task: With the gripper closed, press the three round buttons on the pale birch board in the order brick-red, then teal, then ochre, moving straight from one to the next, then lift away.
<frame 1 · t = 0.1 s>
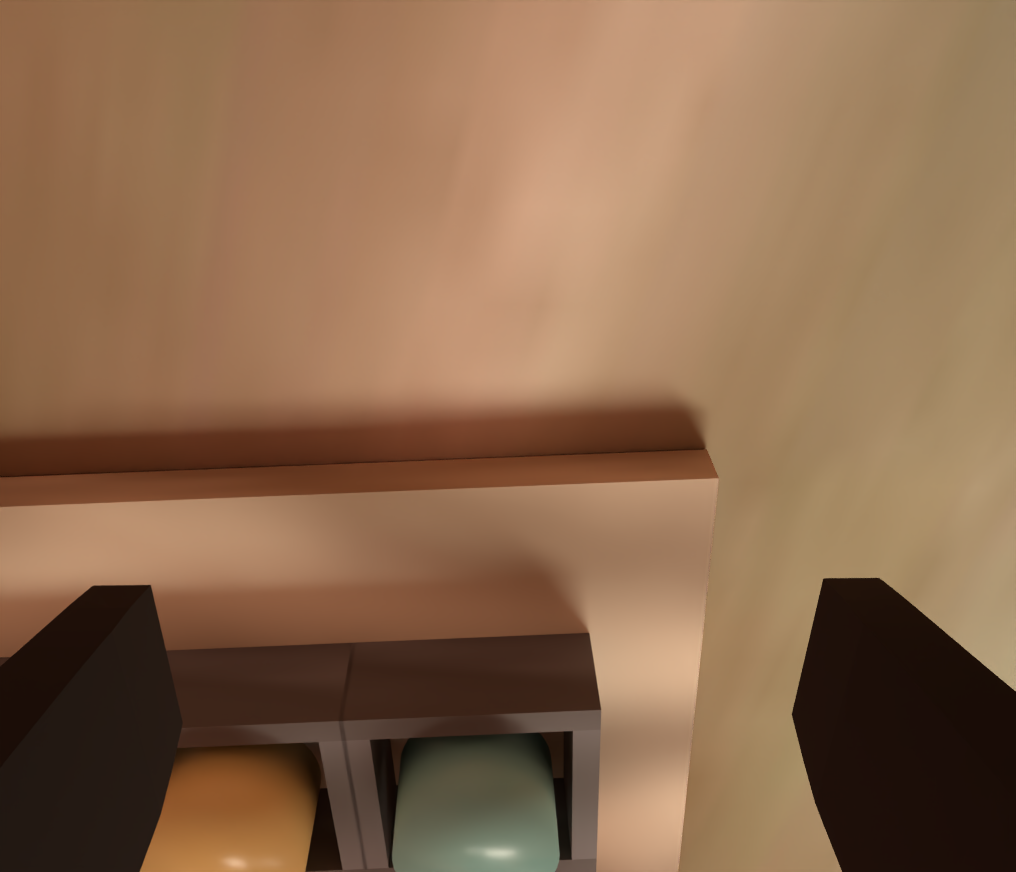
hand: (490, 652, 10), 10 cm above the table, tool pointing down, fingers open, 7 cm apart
ochre button: (232, 819, 21), point 4 cm above the table, slide at 0.0 cm
teal button: (476, 808, 21), point 4 cm above the table, slide at 0.0 cm
button board: (304, 694, 24), on the table
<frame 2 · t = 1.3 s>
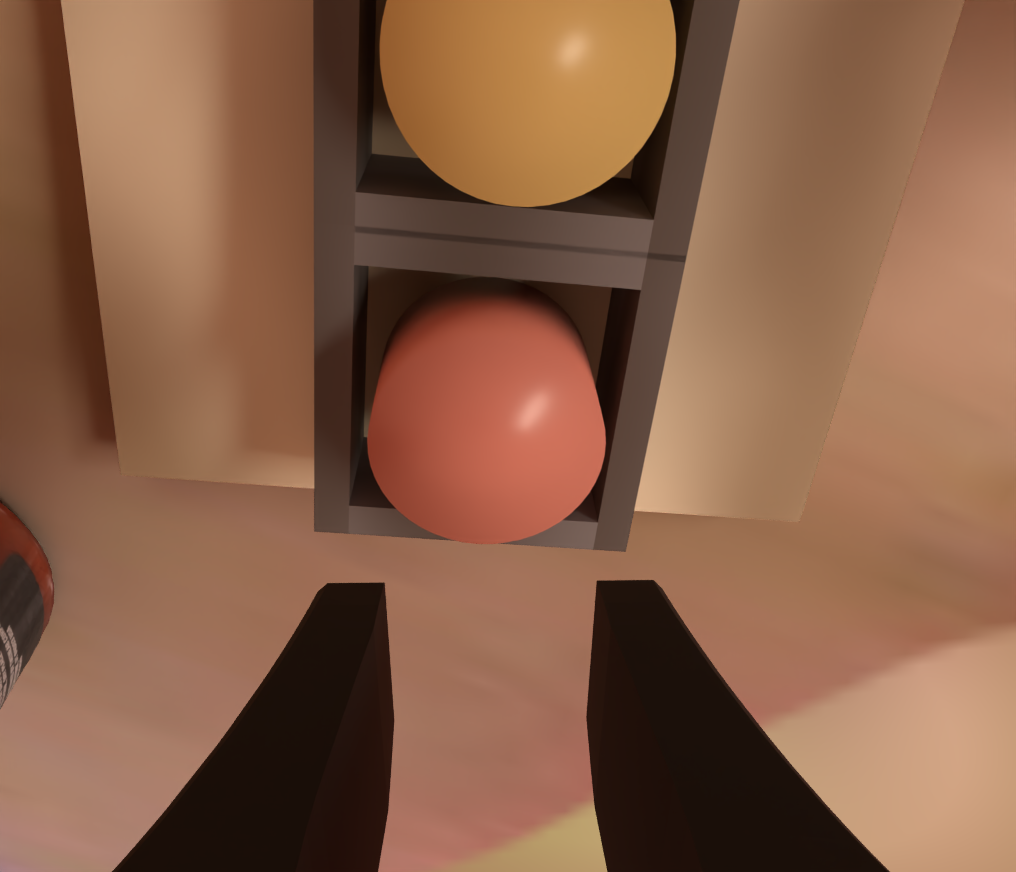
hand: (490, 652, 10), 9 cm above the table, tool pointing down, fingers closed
ochre button: (523, 46, 12), point 4 cm above the table, slide at 0.0 cm
brick button: (486, 408, 15), point 4 cm above the table, slide at 0.0 cm
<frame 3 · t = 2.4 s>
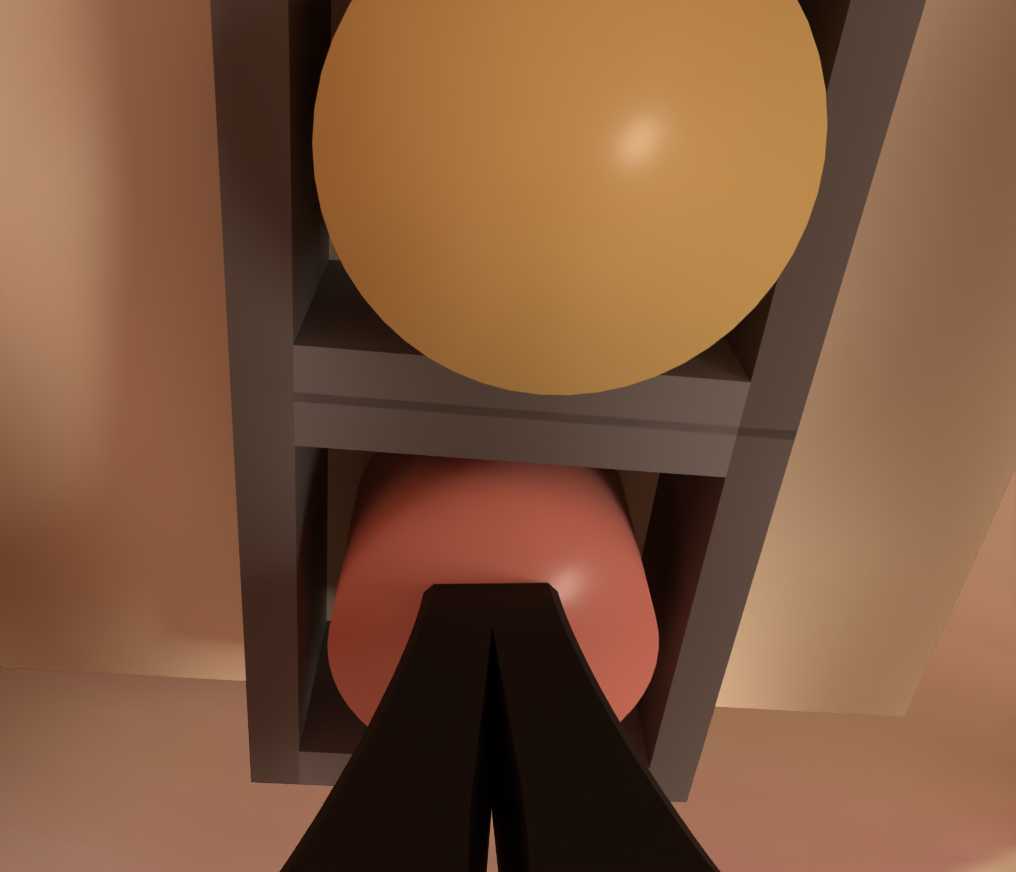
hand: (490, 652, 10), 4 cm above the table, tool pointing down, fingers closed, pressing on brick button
ochre button: (557, 130, 8), point 4 cm above the table, slide at 0.0 cm
brick button: (492, 581, 11), point 3 cm above the table, slide at 0.9 cm, touching gripper
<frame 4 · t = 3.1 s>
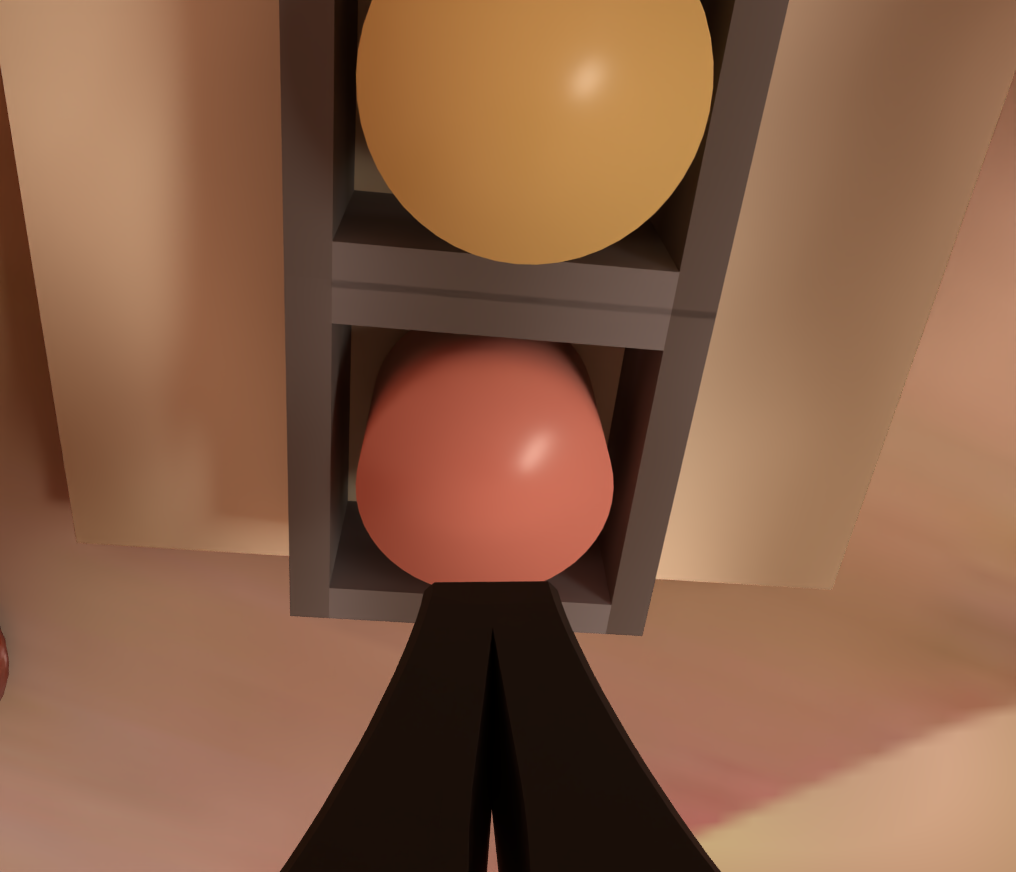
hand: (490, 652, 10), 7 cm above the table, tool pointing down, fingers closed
ochre button: (529, 74, 10), point 4 cm above the table, slide at 0.0 cm
brick button: (484, 447, 14), point 3 cm above the table, slide at 1.0 cm
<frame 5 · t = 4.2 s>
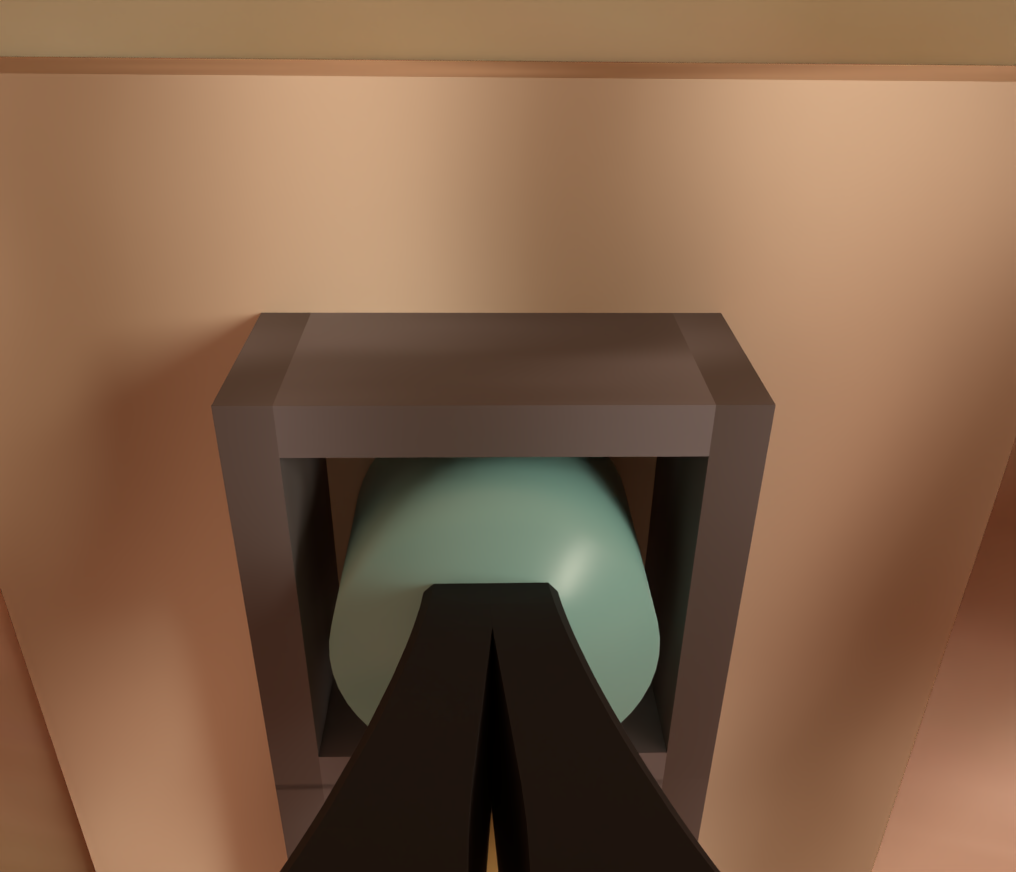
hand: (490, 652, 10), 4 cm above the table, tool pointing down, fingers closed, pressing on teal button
teal button: (493, 582, 11), point 3 cm above the table, slide at 0.9 cm, touching gripper
button board: (490, 680, 16), on the table
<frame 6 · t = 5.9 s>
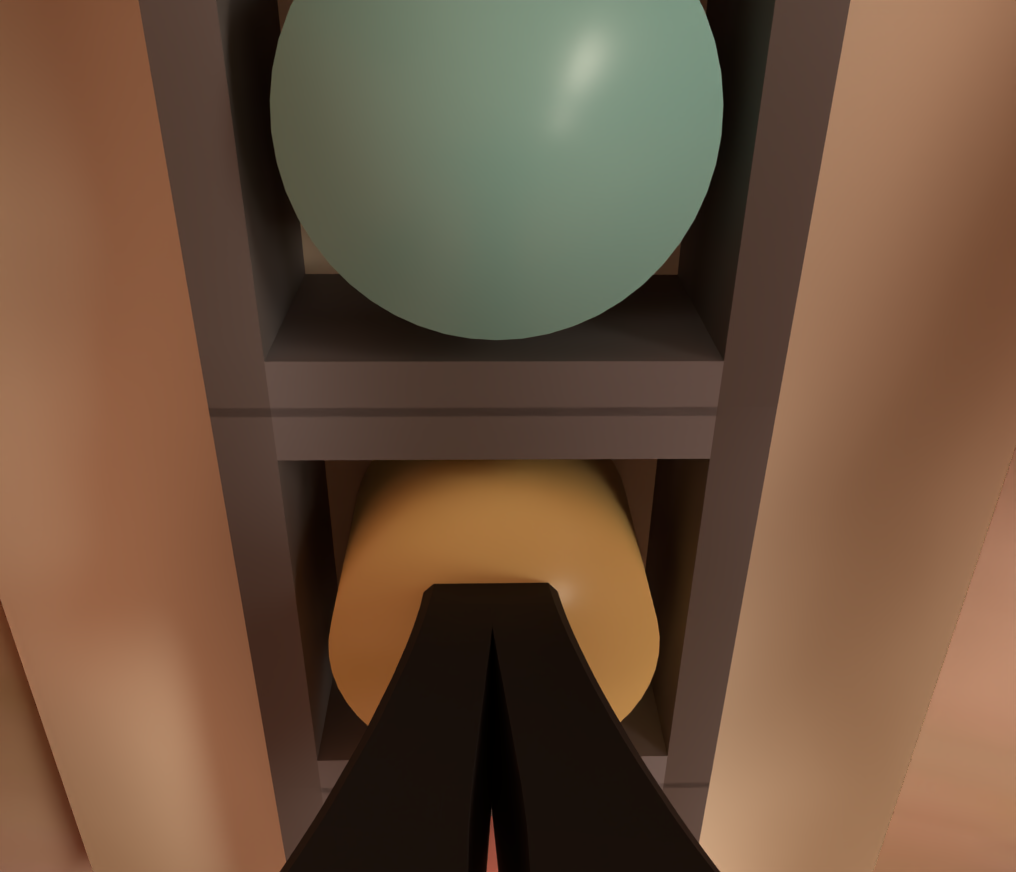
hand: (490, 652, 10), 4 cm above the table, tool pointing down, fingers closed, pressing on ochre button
ochre button: (493, 581, 11), point 3 cm above the table, slide at 0.9 cm, touching gripper
teal button: (495, 104, 8), point 3 cm above the table, slide at 1.0 cm
brick button: (491, 864, 14), point 3 cm above the table, slide at 1.0 cm
button board: (490, 399, 13), on the table
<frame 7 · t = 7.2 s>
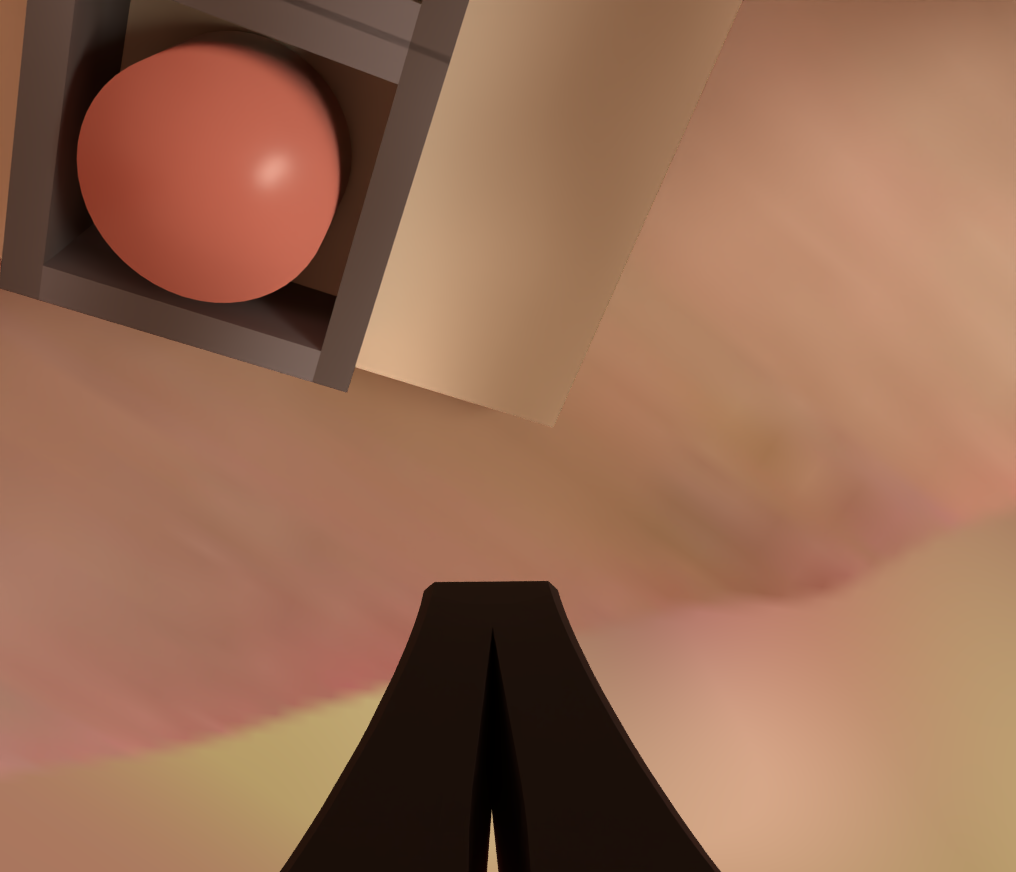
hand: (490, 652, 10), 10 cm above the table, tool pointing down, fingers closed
brick button: (226, 165, 14), point 3 cm above the table, slide at 1.0 cm
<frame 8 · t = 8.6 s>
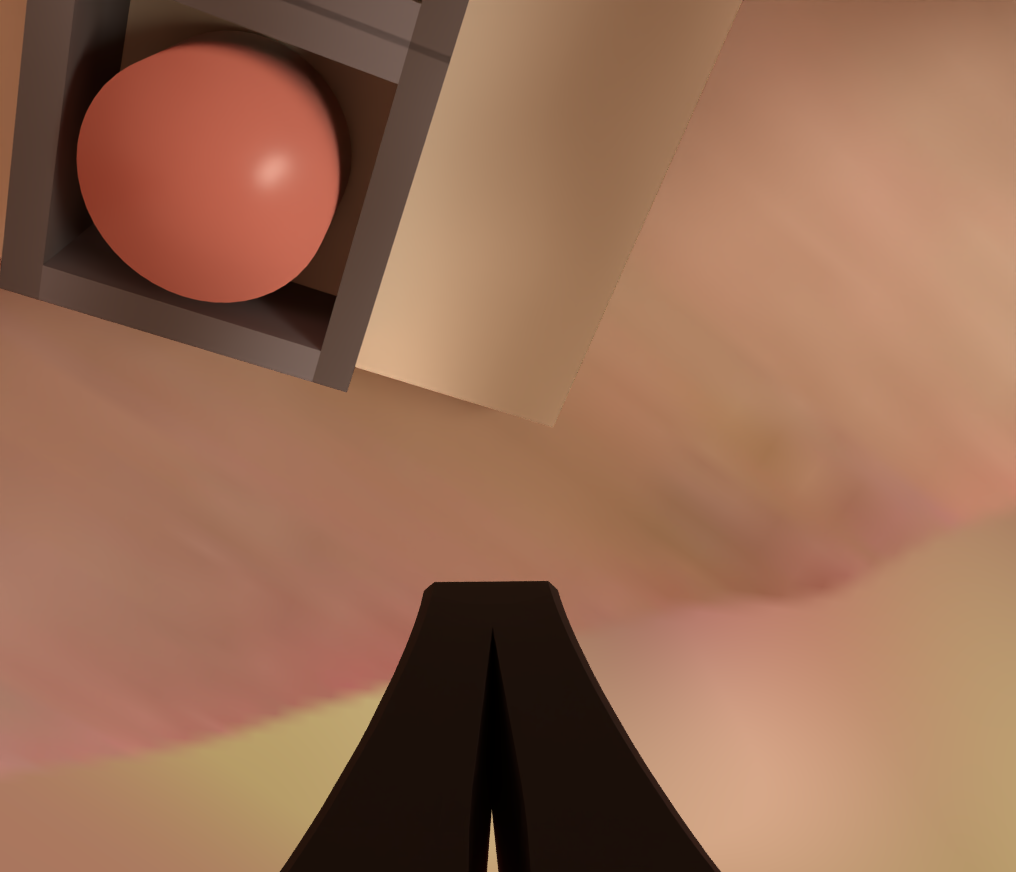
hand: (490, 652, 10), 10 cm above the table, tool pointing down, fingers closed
brick button: (226, 164, 14), point 3 cm above the table, slide at 1.0 cm
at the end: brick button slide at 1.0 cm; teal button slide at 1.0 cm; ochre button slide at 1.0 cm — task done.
